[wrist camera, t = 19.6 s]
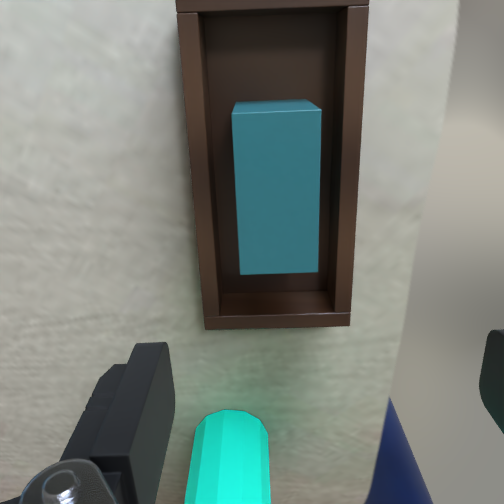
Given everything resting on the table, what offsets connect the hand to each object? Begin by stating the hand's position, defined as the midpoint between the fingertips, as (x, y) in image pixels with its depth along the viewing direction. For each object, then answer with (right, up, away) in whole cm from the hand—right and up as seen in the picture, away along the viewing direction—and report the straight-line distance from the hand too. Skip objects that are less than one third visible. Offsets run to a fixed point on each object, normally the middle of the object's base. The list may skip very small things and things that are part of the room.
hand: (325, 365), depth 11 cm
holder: (-1, +8, +16) cm, 18 cm away
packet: (-1, +8, +16) cm, 17 cm away
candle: (-3, -12, +25) cm, 28 cm away
